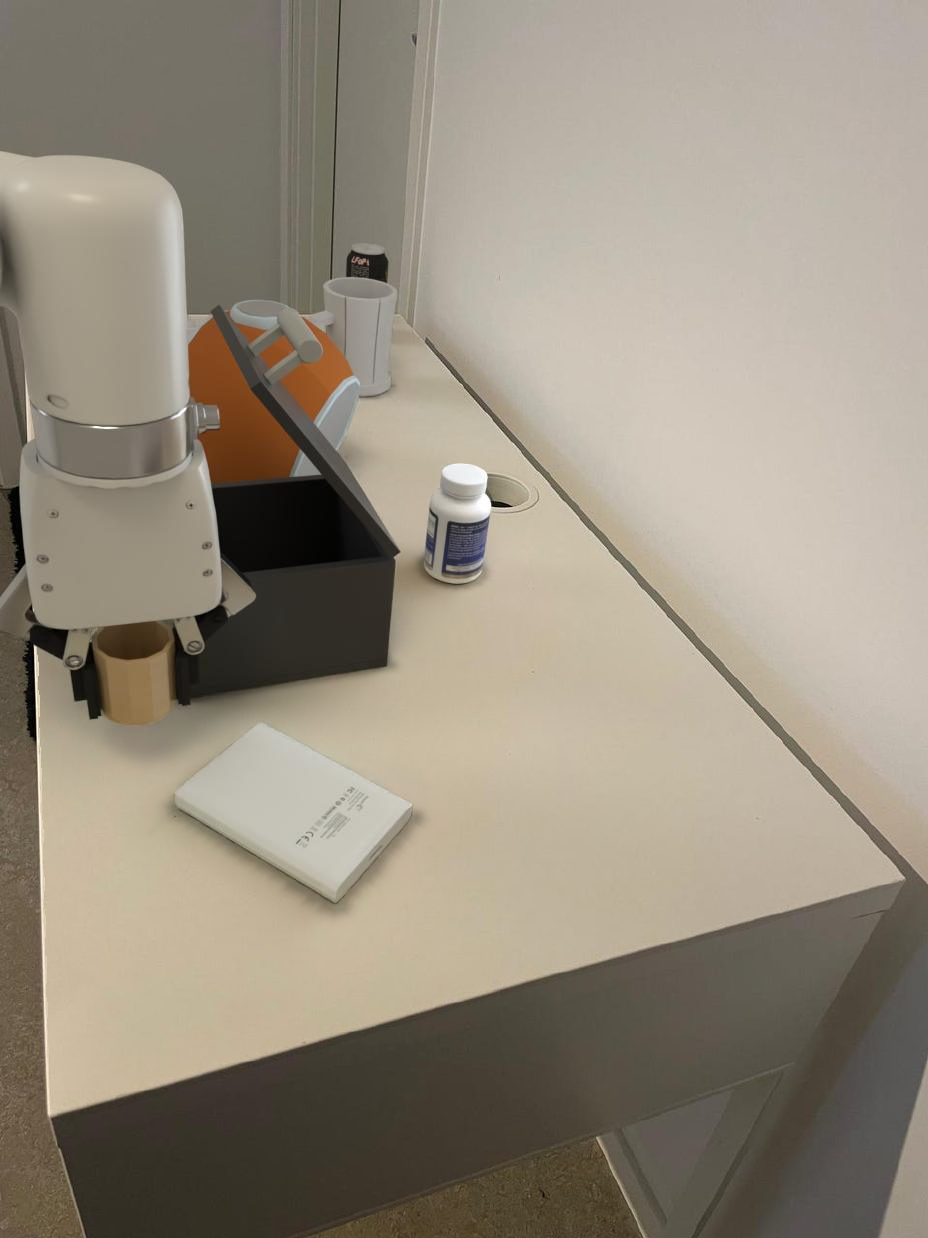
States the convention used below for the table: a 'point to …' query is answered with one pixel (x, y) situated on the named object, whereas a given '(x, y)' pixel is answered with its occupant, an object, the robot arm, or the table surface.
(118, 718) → the wooden cup
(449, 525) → the pill bottle
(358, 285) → the cup
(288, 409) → the lid
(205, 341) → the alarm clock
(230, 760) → the hard drive
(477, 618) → the table surface
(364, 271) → the beverage can
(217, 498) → the open storage box
